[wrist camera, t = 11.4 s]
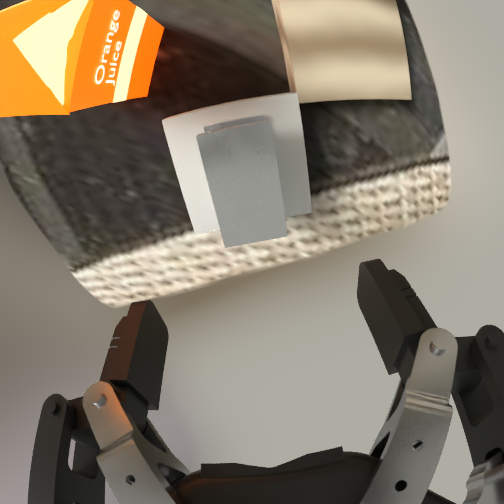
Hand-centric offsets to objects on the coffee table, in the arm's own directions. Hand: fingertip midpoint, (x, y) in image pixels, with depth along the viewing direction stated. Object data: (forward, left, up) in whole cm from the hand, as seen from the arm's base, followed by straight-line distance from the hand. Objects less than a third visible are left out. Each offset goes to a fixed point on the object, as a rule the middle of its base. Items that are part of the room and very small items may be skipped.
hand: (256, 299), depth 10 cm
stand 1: (0, 0, -20) cm, 20 cm away
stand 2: (-11, +12, -20) cm, 26 cm away
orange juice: (-14, -10, -20) cm, 27 cm away
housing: (0, 0, -17) cm, 17 cm away
